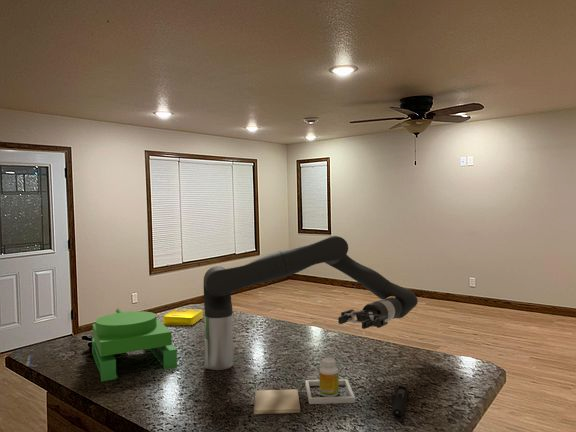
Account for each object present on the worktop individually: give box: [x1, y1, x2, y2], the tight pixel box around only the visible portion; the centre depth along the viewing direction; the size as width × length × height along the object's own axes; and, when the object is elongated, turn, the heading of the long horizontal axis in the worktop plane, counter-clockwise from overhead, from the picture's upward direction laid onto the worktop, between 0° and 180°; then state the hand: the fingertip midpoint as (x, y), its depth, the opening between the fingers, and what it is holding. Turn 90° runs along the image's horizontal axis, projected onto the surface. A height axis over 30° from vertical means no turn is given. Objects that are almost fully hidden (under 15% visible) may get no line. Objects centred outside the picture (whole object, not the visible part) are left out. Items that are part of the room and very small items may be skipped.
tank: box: [91, 308, 179, 383], centre depth 155 cm, size 24×35×16 cm
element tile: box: [162, 308, 204, 326], centre depth 205 cm, size 15×15×5 cm
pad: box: [253, 388, 301, 415], centre depth 118 cm, size 12×12×1 cm
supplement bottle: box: [319, 357, 340, 397], centre depth 124 cm, size 5×5×10 cm
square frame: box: [304, 378, 356, 405], centre depth 124 cm, size 13×13×1 cm
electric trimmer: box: [391, 385, 410, 416], centre depth 116 cm, size 4×16×3 cm, turn 160°
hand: (350, 323), depth 132 cm, fingers open, 8 cm apart
